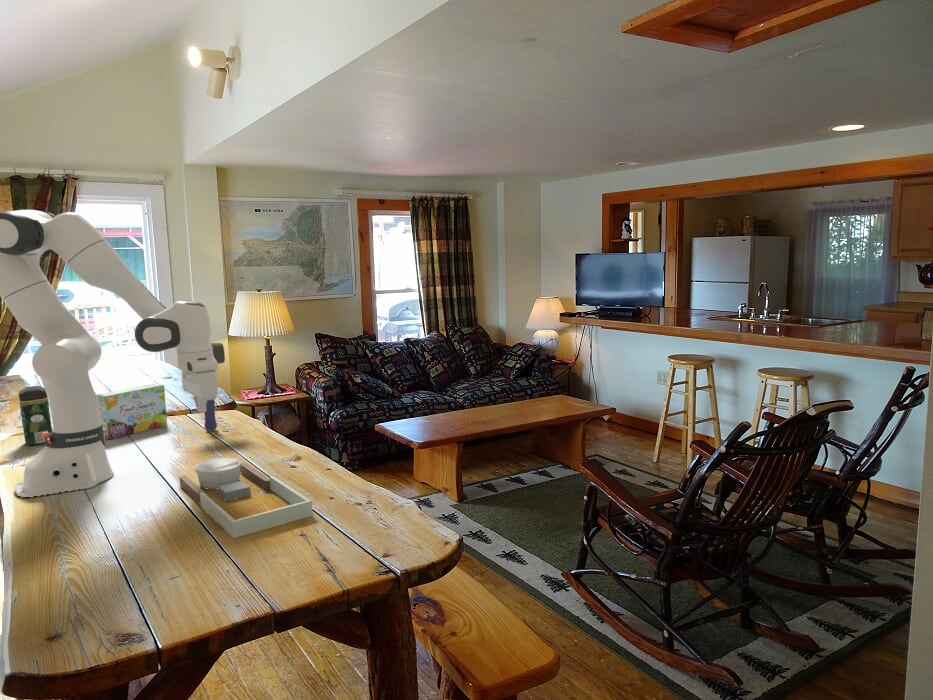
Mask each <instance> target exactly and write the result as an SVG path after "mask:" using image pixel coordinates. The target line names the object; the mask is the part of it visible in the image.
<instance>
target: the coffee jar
mask: <svg viewBox="0 0 933 700" xmlns="http://www.w3.org/2000/svg"><path fill="white" fill-rule="evenodd" d="M18 399H19V409H20V416H21V422H22V428H23V436H24V437H23V438H24V442H25V444H26V445H27V446H41V445H40V444H42V445H44V444H46V443H45V440H43V439H42V437H41V436H42V434H43V432H49V433H51V432H52V431H53V424H52V417H51V409H50V403H49V400H48V396H47V394H46V391H45V388H44V386H40V385H33V386H31V385H30V386H25V387H24V388H22V389H21V390H19V392H18Z"/></svg>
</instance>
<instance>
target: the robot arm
mask: <svg viewBox="0 0 933 700" xmlns="http://www.w3.org/2000/svg"><path fill="white" fill-rule="evenodd" d="M52 252H54V253H55V254H57V255H58V256H59V257H60V259H62V261H64V263H65V264H66V265H67V266H68V267H69V268H70V269H71V270H72V271H73V273H74V274H75V275H76V276H78V277H79V278H80V279H81V280H82V281H83V282H84V283H86V284H88V285H89V286H91V287H94V288H98V289H102V290H105V291H108V292H111V293H113V294H115V295H117V296H118V297H120V298H121V299H122V300H123V301H125V302H126V304H127V305H129V307H131V309H132V310H133V311H134V312H135V313H136V314H137V315H138V316H139V318H141V320H140V321H139V322H138V323H137V324H136V326H135V329H134V338H135V342H136V344H138V346H139V347H140V348H141V349H143V350H145V351H147V352H150V353H160V352H164V351H167V350H170V349H176V354H177V355H176V356H177V364H178V370H180V371H181V383H182V384H181V386H182V389H183V391H184V392H185V393H188V394H190V395H192V397H193V401H194V404H195V407H196V409H195V410H196V411H197V412H198V413H201V414H202V413H204V412H206V403H207V400H213V399H214V400H216V399H217V398H218V395H219V392H218V391H219V389H218V387H219V385H218V384H219V383H218V373H217V370H219V364H218V362H217V361H216V359H215V358H214V355H213V348H212V345H211V343H212V342H211V336H212V334H211V333H212V329H211V322H210V316H209V313H208V310H207V307H206V306H205V304H203V303H202V302H198V301H194V300H177V301H175V302H174V303H173V304H172V305H170V306H168V307H166V306H164V305H163V304H162V303H161V302H160V301H159V300H158V299H157V297H155V296H154V295H153V294H152V292H151V291H150V290H149V289H148V288H147V287H146V286H145V285H144V284H143V283H142V282H141V281H140V280H139V279H138V278H137V276H136V275H134V273H133V272H132V271H131V269H130V268H129V266H127V265H126V263H125V262H124V261H123V259H122V258H121V256H120V255H119V253H118V252H117V251H116V250H115V249H114V247H113V246H112V245H111V243H110V242H109V241H108V240H107V239H106V238H105V237H104V236H103V235H102V233H100V231H99V230H98V229H96V228H95V227H94V226H93V225H92V224H91V223H90V222H89V221H87V220H86V219H85V218H84V217H83V216H82V215H80V214H79V213H76V212H69V211H67V212H63V213H59V214H57V215H54V214H53V213H50V212H48V211H45V210H41V209H40V210H35V209H25V208H23V209H17V210H5V211H4V210H3V211H1V212H0V298H1V299H2V301H3V302H4V303H5V305H6V306H7V308H8V310H9V311H10V312H11V314H12V315H13V317H14V319H15V320H16V322H17V324H19V326H20V327H21V328H22V329H23V330H24V331H26V332H28V334H30V335H31V336H33V338H35V339H36V341H38V343H39V344H40V346H39V347H38V348H37V349H36V351H35V352H34V354H33V356H32V360H31V362H32V363H31V364H32V368H33V370H34V372H35V373H36V375H38V376H39V378H40V380H41V382H42V387H43V388H45V391H46V394H47V396H48V403H49V410H50V417H51V425H52V432H51V433H49V432H43V434H42V436H41V437H42V439H43V440H45V443H44V444H45V448H43V449H42V450H41V451H40V452H39V453H38V454H37V455H36V456H34V457H33V458H31V460H29V461H28V462H27V463H26V466H25V468H24V471H23V480H21V481H20V482H18V483H17V484H16V485H15V486H14V494H15V493H16V494H17V495H19V496H21V497H20V498H22V497H30V498H35V497H34V496H37V497H40V496H41V495H43V496H48V495H47V494H49V495H54V493H55V494H60V493H59V492H61V493H66V492H65V491H68V492H71V491H72V492H73V490H74V491H78V490H79V489H80V490H85V489H90V488H91V489H92V488H93V487H94V488H95V486H97V485H98V484H100V483H103V482H104V481H107V480H108V479H110V478H112V477H113V476H114V471H113V469H112V466H111V464H110V461H109V459H108V456H107V451H106V448H105V445H106V439H105V433H104V428H103V425H102V424H101V419H100V410H99V401H98V396H97V395H98V394H97V393H96V391H95V390H94V387H93V385H92V382H91V379H90V376H89V375H90V374H89V371H91V370H93V369H94V368H95V367H96V366H97V364H98V363H99V361H100V359H101V356H102V346H101V344H100V342H99V341H98V340H97V339H96V338H95V337H93V336H92V335H91V334H90V333H89V332H88V331H87V329H86V328H84V327H83V325H82V324H81V323H80V322H79V321H78V319H77V318H75V316H74V315H73V314H72V313H71V312H70V311H69V310H68V309H67V307H66V305H65V304H64V303H63V301H62V299H61V298H60V296H59V295H58V294H57V292H56V291H55V289H54V287H53V286H52V285H51V283H50V281H49V280H48V278H47V276H46V275H45V274H44V272H43V270H42V268H41V266H40V259H46V258H48V256H49V255H50V254H51V253H52ZM16 494H15V495H16ZM17 495H16V496H17Z"/></svg>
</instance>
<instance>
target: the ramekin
mask: <svg viewBox="0 0 933 700" xmlns="http://www.w3.org/2000/svg"><path fill="white" fill-rule="evenodd" d="M241 463H242V461H241V460H239V459H238V458H234V457H222V458H221V457H220V458H213V459H210V460H205V461H202V462H200V463H198V464H197V465H196V466H195V468H194V469H195V473H196V474H197V478H198V483H199V486H200V487H201V488H203V489H205V488H208V489H207V490H218V489H217V488H218V486H220V485H225V484H229V483H234V482H238V481H240V477H241V473H240V467H241Z"/></svg>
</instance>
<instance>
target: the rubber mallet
mask: <svg viewBox="0 0 933 700" xmlns="http://www.w3.org/2000/svg"><path fill="white" fill-rule="evenodd" d="M211 345H212V348H213V355H214V358H215V359H216V361H217V362H218V365H219V364H223V363H225V361H226V360H225V359H226V358H225V357H226V355H225V348H224V347H225V346H224V344H223V343H222V342H217V343H216V342H211ZM215 400H216V399H213V400H207V403H206V412H203V413H204V429H205V430H206V432H213V431H216V429H217V427H218V424H217V423H218V422H217V421H216V413H215Z"/></svg>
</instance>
